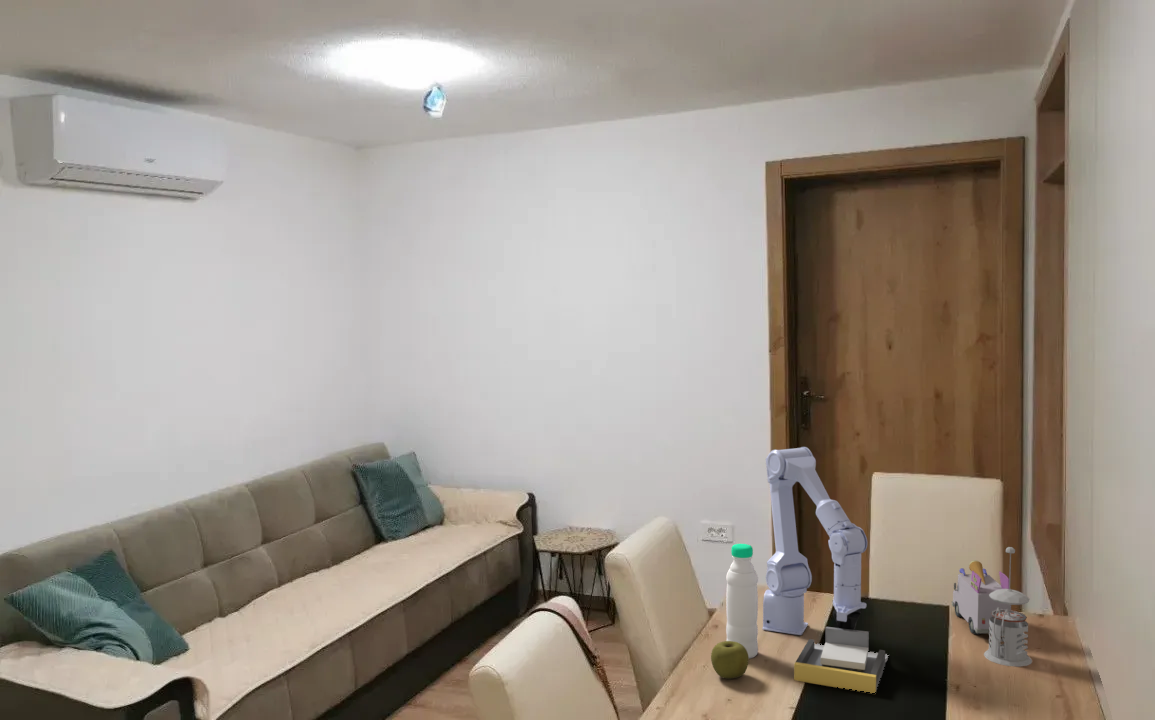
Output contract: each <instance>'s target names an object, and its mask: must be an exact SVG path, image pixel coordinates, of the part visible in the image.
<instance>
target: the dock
mask: <svg viewBox="0 0 1155 720" xmlns="http://www.w3.org/2000/svg"><path fill="white" fill-rule="evenodd" d="M820 644H821V645H820ZM824 645H825V644H824ZM824 645H822V643H817V644H815V639H812V638H809V639H808V640H807V642H806V644H805V645H804V647H803V649H802V650H801V652H800V654H799V655H798V657H797V659H796V661H794V664H793V667H794V669H793V670H794V671H793V674H794V675H793V678H794V679H793V681H797V682H803V683H808V684H813V685H819V686H820V685H821V686H826V687H833V688H837V687H838V688H839V689H843V688H845V689H844V690H849V689H852V690H851V691H855V690H857V691H856V692H860V691H864V692H863V693H866V692H870V693H869V694H872V693H875V692H876V693H877V690H878V688H877V687H879V685H878V684H880V682H881V679H880V678H882V676H883V673H884V671H885V668H886V663H887V661H888V658H889V657H888V656H890V654H889V655H887V654H888V653H886V650H883V649H879V650H878V652H876V653H874V652H875V651H870V652H868V657H867V662H866V667H865V671H864V673H861V672H856V671H855V669H853V668H846V667H838V666H831V668H830V667H824V666H822V664H820V661H821V655H822V651H823V648H824ZM884 667H885V668H884ZM883 670H884V671H883ZM879 681H880V682H879ZM876 693H875V694H876Z"/></svg>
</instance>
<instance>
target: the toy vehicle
mask: <svg viewBox="0 0 1155 720" xmlns="http://www.w3.org/2000/svg"><path fill="white" fill-rule="evenodd" d="M983 567H984V566H983V563H982V561H981V562H980V561H979V560H972V561H970V562H969V564H968V568H969V570H970V572H971V574H966V572H965V568H959V570H958V571H959V574H957V583H956V582H953V591H952V601H951V606H952V607H953V608H954V613H955V616H956V617H958V618H963V619H964V620H965V621H966V622H967V623H968V628H969V629H968V630H969V631H970V633H971V634H973V635H981V634H989V632H990V630H991V632H992V629H990V630H989V626H990V624H989V620H990V617H993V616H992V614H991V613H992V611H994V610H997V608H998V607H999V608H1000V609H1002V610H1003V609H1005V610H1006V609H1007V610H1009V605H1008V604H1002V603H999V602H996V601H994V600H992V599H991V598H990V596H989V594H990V593H992V592H994V591H996V590H1000V589H1009V577H1008V576H1007V575H1006V574H1005V573H1003V572H1002V571H998V573H999V574H998V575H999V581H1000V583H999V582H997V581H996V579H994V577H992V576H991V575H990V574H988V573H987V572H988V571H987V569H985V568H983ZM1010 610H1011V611H1012V605H1010ZM999 626H1001V628H1002V625H999ZM1004 627H1005V625H1003V628H1004ZM1001 633H1002V631H1001ZM1003 633H1004V631H1003Z"/></svg>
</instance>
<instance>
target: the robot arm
mask: <svg viewBox="0 0 1155 720" xmlns="http://www.w3.org/2000/svg"><path fill="white" fill-rule="evenodd" d="M765 466H766V468H765V469H766V476H767V479H766V480H767V483H768V484H769V494H770V504H771V513H772V515H771V516H772V523H773V534H774V535H773V536H774V543H775V544H774V545H775V546H774V547H775V552H774V554H772V556H771V557H770V558H769V559H768V560H767V561H766V567H767V568H766V573H765V582H766V585H767V587H768V589H766V590H765V592H764V594H763V603H762V630H763V631H769V632H777V633H782V634H789V635H795V636H802V635H803V634H804V632H805V631H806V629H807V627H808V626H809V623H808V622H805V621H804V620H805V617H804V616H805V594H806V593H807V591H808V590H807V589H809V588H810V587H811V584H812V581H813V575H812V572H811V569H810V566H809V564H808V558H807V557H806V556H804V555H803V554H802V553H800V551H799V545H798V544H799V543H798V535H797V527H796V526H797V524H796V523H797V522H796V513H795V504H794V494H793V487H794V485H795V484H796V483H799V484H800V485H801V487H802V488H803V489H804V491H805V493H807V495H808V496H809V498H810V499H811V500H812V502H813V503H814V504H815V506H816V509H815V516H816V517H817V519H818V520H819V522H820V524H821V526H822V527H823V529H824V530H825V532H826V534H827V535H828V537H829V539H828V548H829V550H830V553H831V560H832V562H833V563H834V564H833V600H832V605H833V607H834V610H833V611H832V616H833V618H834V620H835V622H836V625H837V628H842V629H850V630H856V626H857V622H858V619H859V618H860V616H861V614H862V610H861V609H866V608H867V603H866V602H864V601H863V602H862V601H861V599H862V554H863V553H865V552H866V550H867V548H868V538H867V536H866V533H865V531H864V529H863V528H861V527H860V526H857V525H856V524H855V523H852V522H851V520H850V519H849V517H848V515H847V514H846V512H845V510H844V509H843V507H842V505H841V504H840V503H839V502H838V501H837V500H835V499H831V498H830V496H829V494H828V492H827V489H825V486H824V484H823V481H822V480H821V478H820V477H819V474H818V472H817V470H816V466H817V461H816V458H815V456H814V454H813V453H812V451H811V450H810V449H809V448H808V447H807V446H801V447H797V448H794V447H793V448H785V449H772V450H771V451H769V453H768V455H767V457H765Z"/></svg>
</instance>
